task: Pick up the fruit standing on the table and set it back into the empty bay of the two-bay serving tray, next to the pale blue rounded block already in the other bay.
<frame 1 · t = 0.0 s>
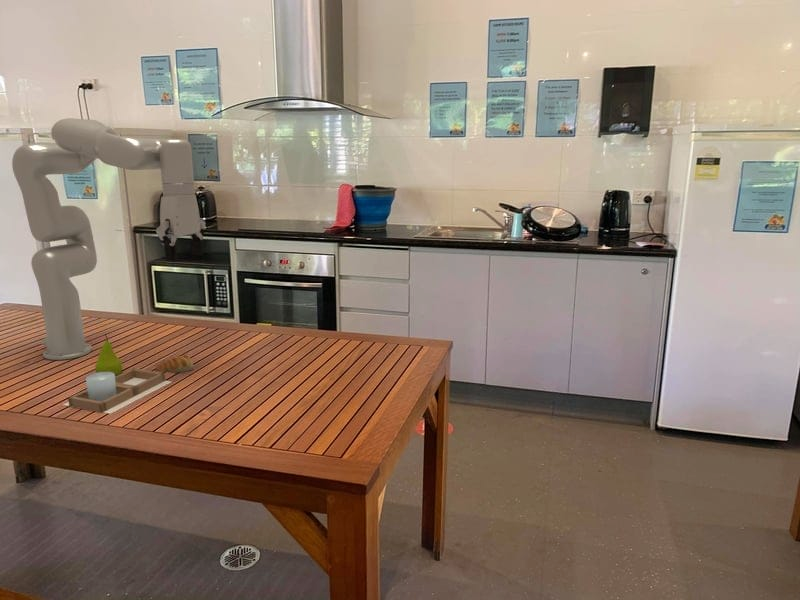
hand: (184, 258, 152), 31 cm above the table, fingers open, 9 cm apart
pale blue rounded block: (103, 400, 139), point 1 cm above the table, touching tray
fruit: (110, 378, 156), on the table
tray: (120, 397, 144), on the table
pastry: (176, 371, 162), on the table
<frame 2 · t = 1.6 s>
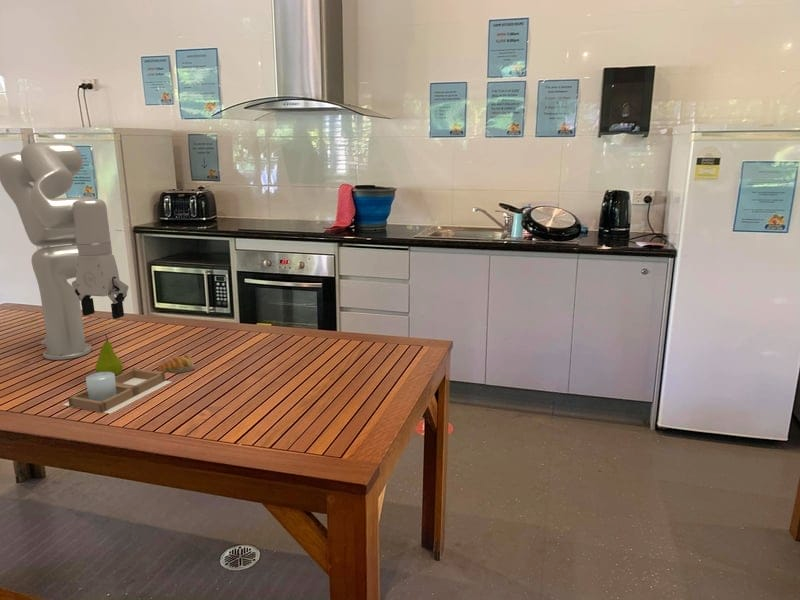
hand: (103, 316, 152), 17 cm above the table, fingers open, 9 cm apart
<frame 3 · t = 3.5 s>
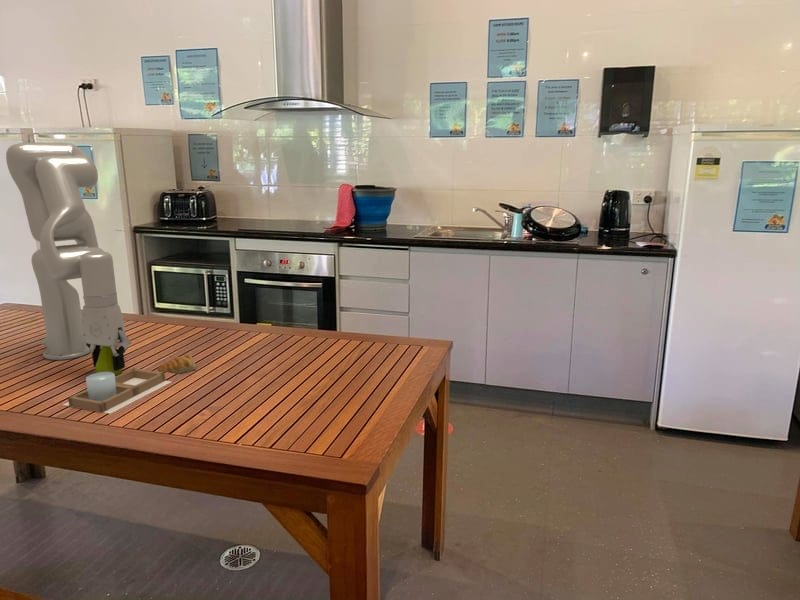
hand: (109, 366, 155), 3 cm above the table, fingers closed on fruit, 5 cm apart
fruit: (110, 378, 156), on the table, touching gripper
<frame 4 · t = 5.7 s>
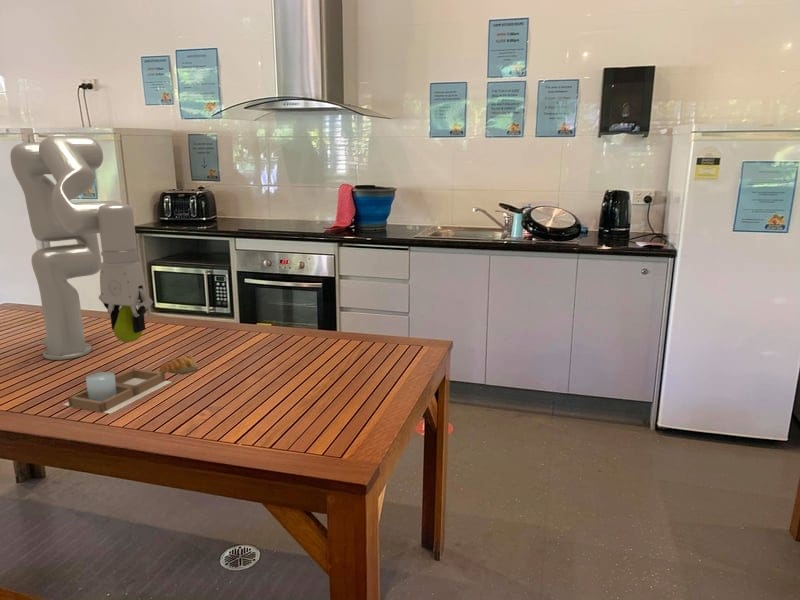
hand: (128, 329, 144), 16 cm above the table, fingers closed on fruit, 5 cm apart
fruit: (130, 342, 145), point 12 cm above the table, touching gripper
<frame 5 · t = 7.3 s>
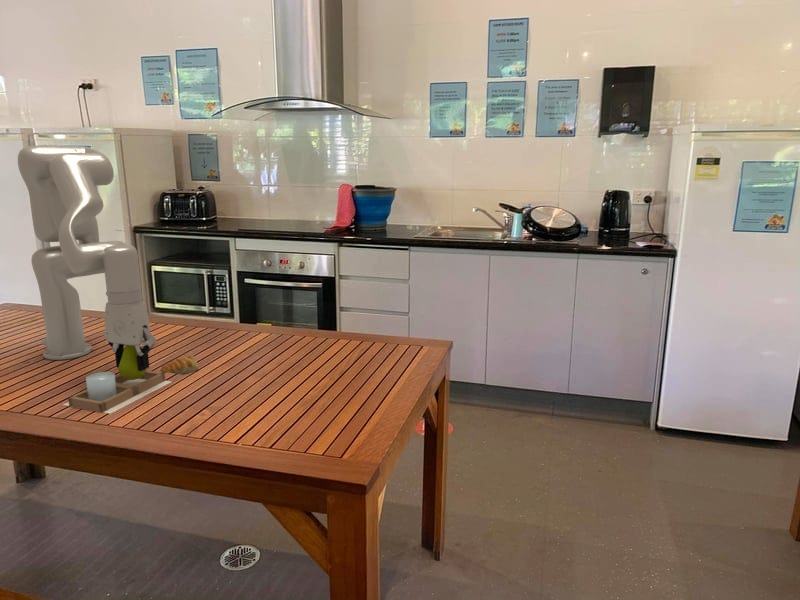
hand: (133, 367, 147), 6 cm above the table, fingers closed on fruit, 5 cm apart
fruit: (134, 379, 148), point 3 cm above the table, touching gripper
when the fingers open (5 cm above the table, at t = 8.3 s): fruit drops 1 cm, resting on tray.
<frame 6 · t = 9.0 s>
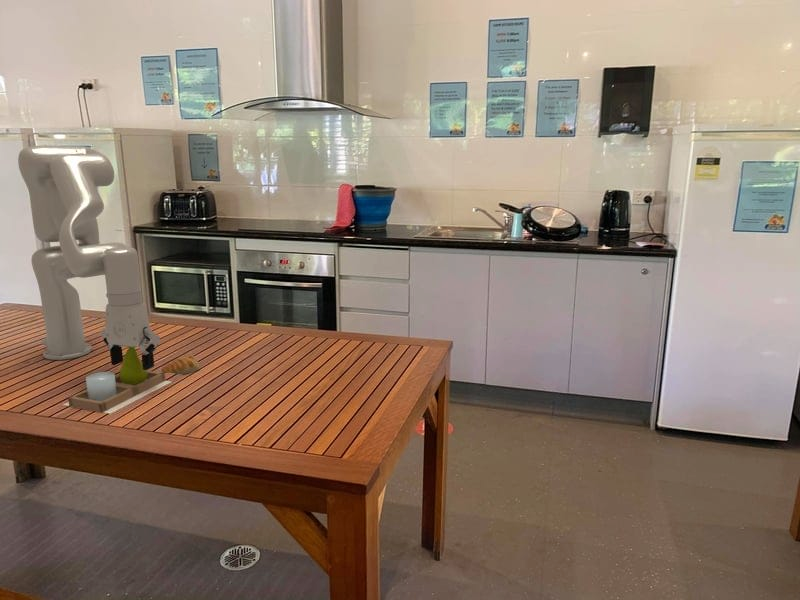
hand: (133, 365, 147), 6 cm above the table, fingers open, 9 cm apart
fruit: (135, 385, 148), point 1 cm above the table, touching tray
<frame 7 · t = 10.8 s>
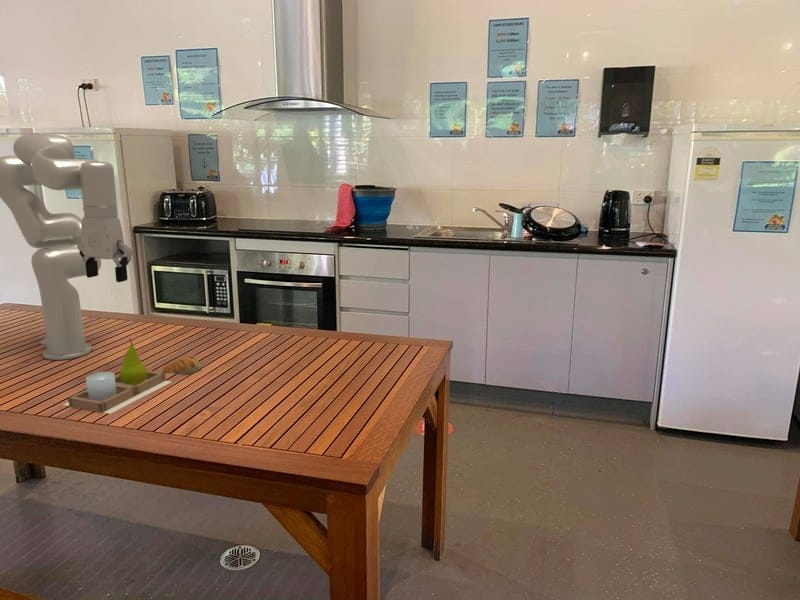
hand: (107, 278, 153), 26 cm above the table, fingers open, 9 cm apart
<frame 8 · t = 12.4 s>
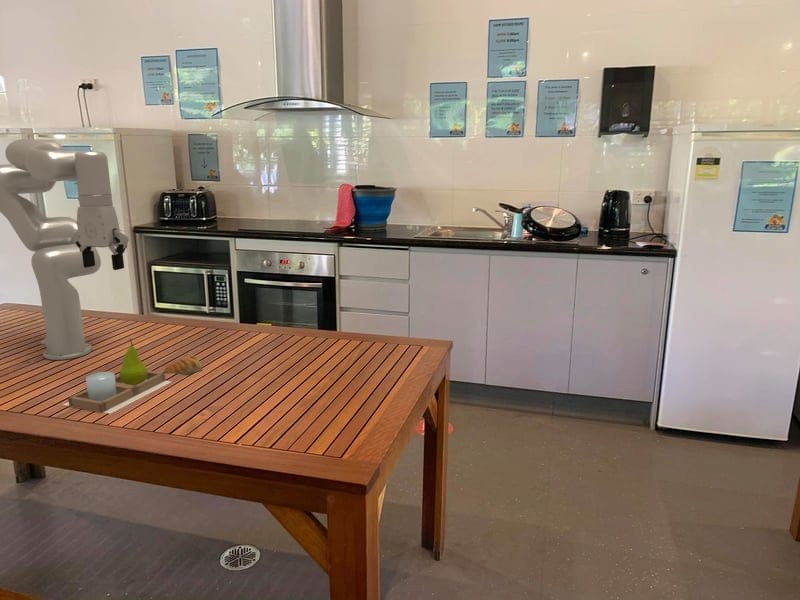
hand: (104, 267, 155), 28 cm above the table, fingers open, 9 cm apart
at the end: fruit 0.1 cm from the target spot on the tray, point 1.0 cm above the tray's base; fruit tilted 0°; the gripper is holding nothing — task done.
